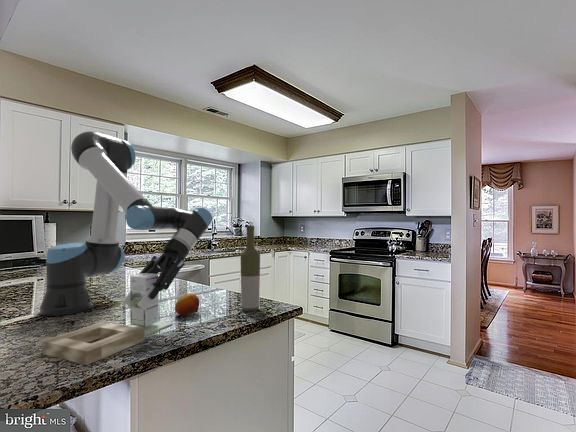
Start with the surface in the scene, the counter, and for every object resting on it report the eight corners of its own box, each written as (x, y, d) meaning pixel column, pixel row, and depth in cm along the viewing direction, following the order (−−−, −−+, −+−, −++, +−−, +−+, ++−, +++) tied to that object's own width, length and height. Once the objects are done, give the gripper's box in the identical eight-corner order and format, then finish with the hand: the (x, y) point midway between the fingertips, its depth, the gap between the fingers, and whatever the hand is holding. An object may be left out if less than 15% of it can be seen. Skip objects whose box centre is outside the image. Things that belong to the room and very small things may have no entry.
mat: (115, 331, 94) (115, 329, 94) (145, 320, 104) (145, 319, 104) (143, 336, 90) (143, 334, 90) (172, 324, 100) (172, 323, 100)
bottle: (242, 307, 120) (242, 225, 121) (261, 307, 120) (261, 225, 121) (238, 312, 113) (238, 225, 114) (258, 312, 113) (258, 225, 114)
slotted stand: (41, 353, 79) (42, 340, 79) (102, 332, 93) (102, 321, 93) (86, 365, 72) (87, 351, 72) (144, 340, 87) (144, 329, 87)
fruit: (197, 314, 106) (186, 292, 107) (178, 325, 108) (167, 304, 109) (208, 307, 114) (197, 287, 115) (190, 318, 116) (180, 298, 117)
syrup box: (159, 321, 99) (159, 273, 99) (144, 327, 94) (145, 276, 94) (144, 319, 101) (144, 272, 101) (129, 325, 95) (129, 275, 96)
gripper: (207, 254, 105) (162, 318, 91) (168, 251, 116) (123, 307, 102) (194, 238, 101) (145, 303, 87) (154, 236, 111) (105, 294, 98)
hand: (133, 305), depth 94 cm, fingers closed on syrup box, 7 cm apart
